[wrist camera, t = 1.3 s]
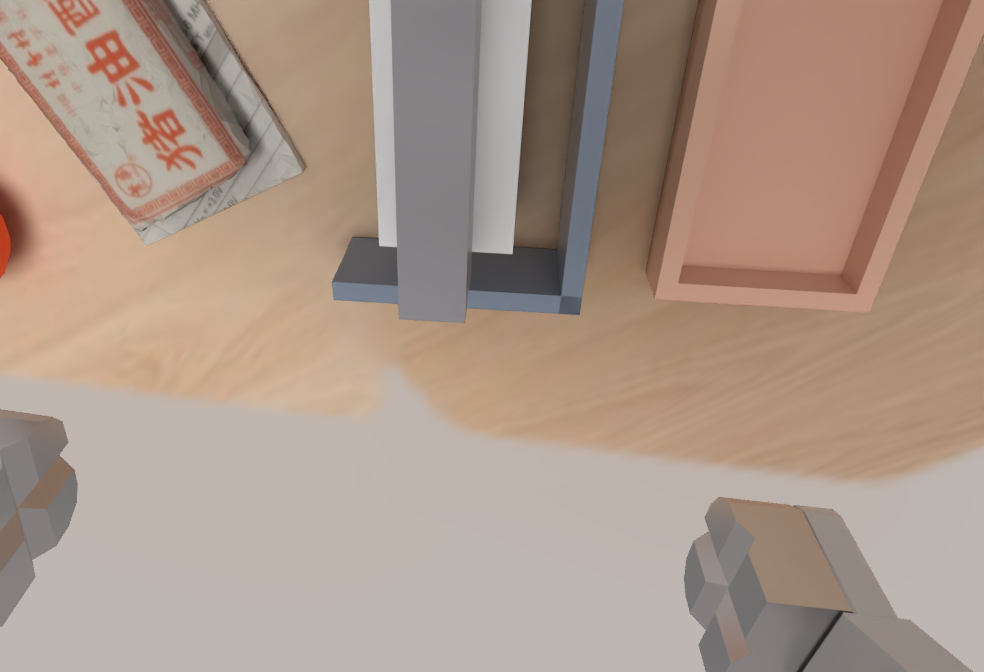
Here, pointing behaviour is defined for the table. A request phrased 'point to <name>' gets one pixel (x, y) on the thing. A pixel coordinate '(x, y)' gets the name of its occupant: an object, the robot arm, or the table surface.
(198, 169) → the packaged product
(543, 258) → the slate bay
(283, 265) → the table surface
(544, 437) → the table surface
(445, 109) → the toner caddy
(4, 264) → the clementine
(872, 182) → the terracotta tray
